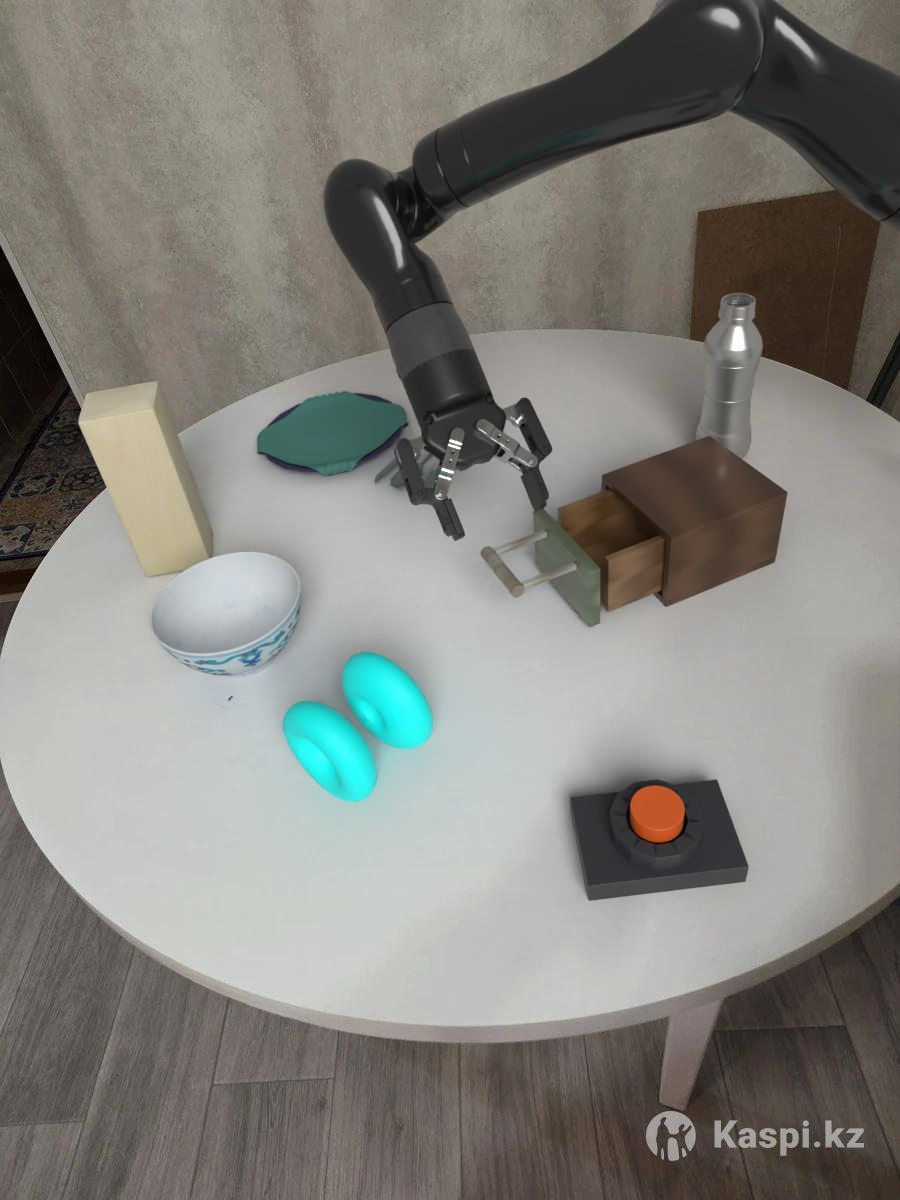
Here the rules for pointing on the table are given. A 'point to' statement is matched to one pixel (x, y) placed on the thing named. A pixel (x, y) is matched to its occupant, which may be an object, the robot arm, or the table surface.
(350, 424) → the cutlery set
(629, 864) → the control block
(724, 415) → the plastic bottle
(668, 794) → the button
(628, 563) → the drawer
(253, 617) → the chinaware
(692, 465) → the cabinet
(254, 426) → the table surface
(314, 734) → the donuts
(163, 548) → the tall cream wooden block
